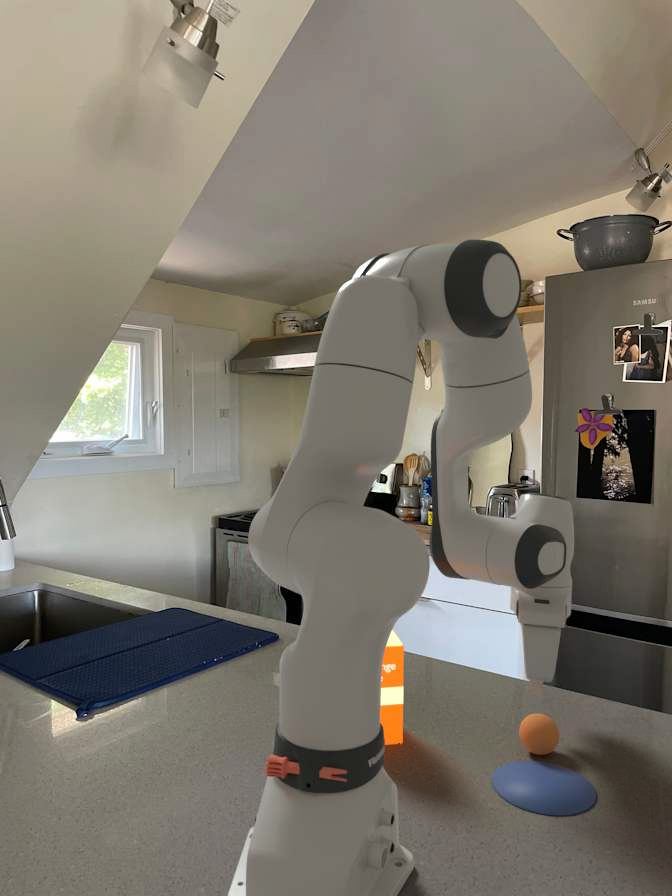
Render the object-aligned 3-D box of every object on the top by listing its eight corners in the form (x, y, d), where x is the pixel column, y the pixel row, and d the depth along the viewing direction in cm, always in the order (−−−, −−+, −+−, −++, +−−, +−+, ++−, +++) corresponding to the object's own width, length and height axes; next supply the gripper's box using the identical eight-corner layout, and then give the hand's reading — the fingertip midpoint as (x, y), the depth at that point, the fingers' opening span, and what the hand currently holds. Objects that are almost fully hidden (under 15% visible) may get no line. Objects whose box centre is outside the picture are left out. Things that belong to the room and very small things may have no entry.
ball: (560, 721, 103) (562, 760, 99) (522, 720, 105) (523, 759, 101) (554, 708, 99) (557, 748, 95) (515, 707, 101) (516, 747, 97)
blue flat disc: (600, 823, 83) (600, 821, 83) (489, 805, 86) (489, 804, 86) (591, 769, 95) (591, 768, 95) (494, 756, 99) (494, 755, 99)
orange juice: (352, 748, 101) (353, 612, 100) (339, 721, 110) (340, 596, 109) (404, 743, 103) (405, 609, 102) (387, 717, 111) (388, 594, 110)
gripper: (519, 584, 116) (515, 666, 116) (518, 614, 96) (513, 713, 97) (558, 587, 114) (554, 671, 115) (566, 619, 95) (561, 719, 95)
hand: (536, 691), depth 106 cm, fingers closed
